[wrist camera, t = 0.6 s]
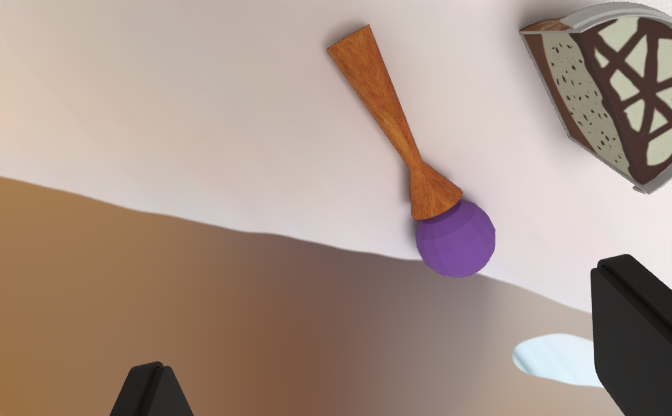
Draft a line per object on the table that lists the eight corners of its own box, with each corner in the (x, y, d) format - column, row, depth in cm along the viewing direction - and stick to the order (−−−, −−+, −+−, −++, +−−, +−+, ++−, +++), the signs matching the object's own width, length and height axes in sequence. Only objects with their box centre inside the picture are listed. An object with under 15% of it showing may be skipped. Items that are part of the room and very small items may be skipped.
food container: (649, 110, 40) (750, 148, 31) (575, 153, 41) (652, 201, 32) (590, -40, 36) (687, -47, 27) (509, 12, 37) (576, 22, 28)
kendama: (397, 9, 33) (522, 260, 39) (374, 19, 39) (486, 237, 44) (316, 58, 33) (454, 303, 39) (304, 61, 38) (426, 274, 44)
